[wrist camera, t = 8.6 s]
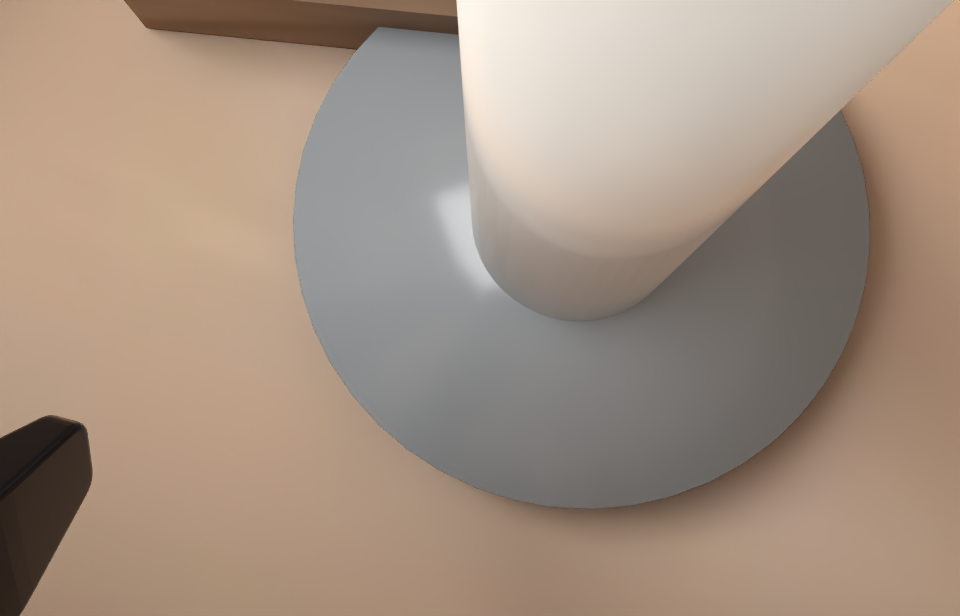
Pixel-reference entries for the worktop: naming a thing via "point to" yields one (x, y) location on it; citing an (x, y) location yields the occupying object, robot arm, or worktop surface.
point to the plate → (554, 342)
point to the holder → (298, 18)
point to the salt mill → (645, 127)
